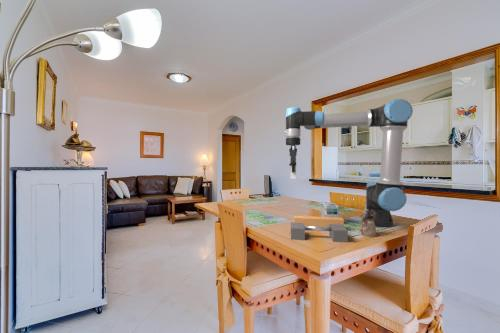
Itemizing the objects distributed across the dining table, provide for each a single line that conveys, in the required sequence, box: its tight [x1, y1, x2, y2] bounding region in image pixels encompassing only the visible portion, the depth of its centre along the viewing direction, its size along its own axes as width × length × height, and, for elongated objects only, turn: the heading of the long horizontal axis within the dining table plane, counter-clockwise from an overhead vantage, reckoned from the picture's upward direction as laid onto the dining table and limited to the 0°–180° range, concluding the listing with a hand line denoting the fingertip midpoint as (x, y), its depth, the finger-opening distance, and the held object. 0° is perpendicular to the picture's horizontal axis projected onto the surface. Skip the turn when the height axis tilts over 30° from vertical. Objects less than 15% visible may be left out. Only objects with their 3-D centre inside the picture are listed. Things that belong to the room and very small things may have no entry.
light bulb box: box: [321, 201, 340, 218], centre depth 136 cm, size 11×7×11 cm, turn 179°
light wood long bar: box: [293, 215, 345, 227], centre depth 123 cm, size 24×5×6 cm, turn 81°
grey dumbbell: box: [290, 222, 349, 243], centre depth 110 cm, size 24×10×5 cm, turn 81°
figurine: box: [358, 208, 377, 238], centre depth 114 cm, size 7×7×12 cm
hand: (293, 177), depth 127 cm, fingers open, 13 cm apart
